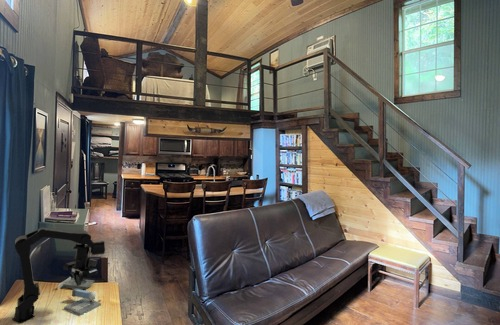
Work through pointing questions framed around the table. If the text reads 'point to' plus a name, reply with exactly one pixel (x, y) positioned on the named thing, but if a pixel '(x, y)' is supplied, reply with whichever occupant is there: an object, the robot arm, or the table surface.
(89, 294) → the lever
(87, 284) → the graphics card
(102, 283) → the table surface
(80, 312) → the lid
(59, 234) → the robot arm
